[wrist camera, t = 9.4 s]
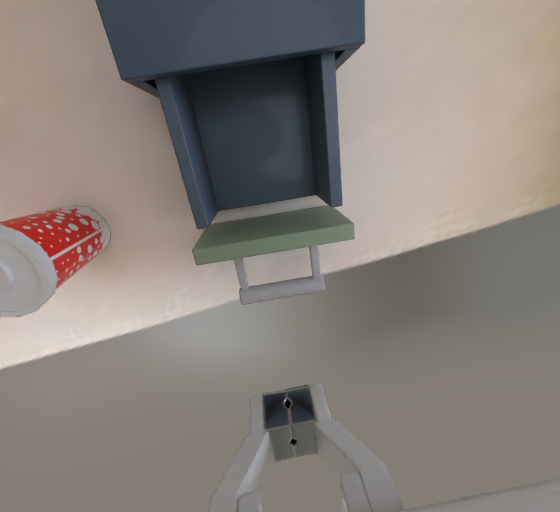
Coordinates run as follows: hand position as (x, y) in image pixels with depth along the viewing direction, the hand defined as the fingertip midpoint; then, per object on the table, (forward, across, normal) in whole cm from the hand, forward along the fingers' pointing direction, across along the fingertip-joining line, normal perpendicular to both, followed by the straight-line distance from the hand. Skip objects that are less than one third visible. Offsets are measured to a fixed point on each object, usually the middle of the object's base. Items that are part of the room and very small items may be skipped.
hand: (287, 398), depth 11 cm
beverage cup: (+17, -16, +5) cm, 24 cm away
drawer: (+16, +1, +7) cm, 17 cm away
